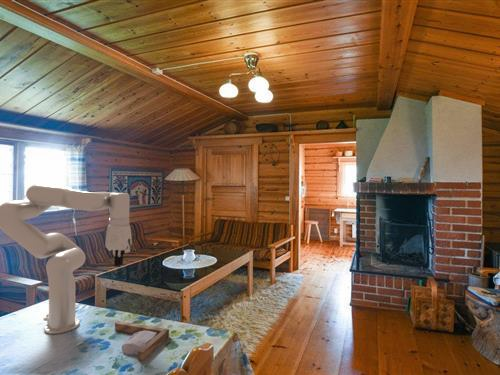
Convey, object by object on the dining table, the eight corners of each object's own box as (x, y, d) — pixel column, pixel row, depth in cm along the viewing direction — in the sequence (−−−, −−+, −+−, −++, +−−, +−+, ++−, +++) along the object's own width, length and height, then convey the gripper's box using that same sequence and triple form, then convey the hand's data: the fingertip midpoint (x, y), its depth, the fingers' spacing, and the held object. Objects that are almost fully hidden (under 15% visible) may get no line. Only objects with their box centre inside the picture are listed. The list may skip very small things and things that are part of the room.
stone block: (119, 359, 108) (145, 356, 107) (117, 345, 109) (142, 342, 107) (136, 342, 120) (160, 340, 119) (134, 330, 120) (158, 327, 119)
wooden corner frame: (86, 349, 111) (86, 341, 110) (118, 328, 127) (118, 321, 127) (143, 360, 104) (143, 352, 104) (168, 336, 120) (169, 329, 120)
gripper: (98, 221, 126) (97, 265, 126) (128, 224, 121) (127, 269, 122) (111, 219, 133) (110, 261, 133) (140, 222, 128) (139, 265, 129)
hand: (118, 265), depth 127 cm, fingers closed
